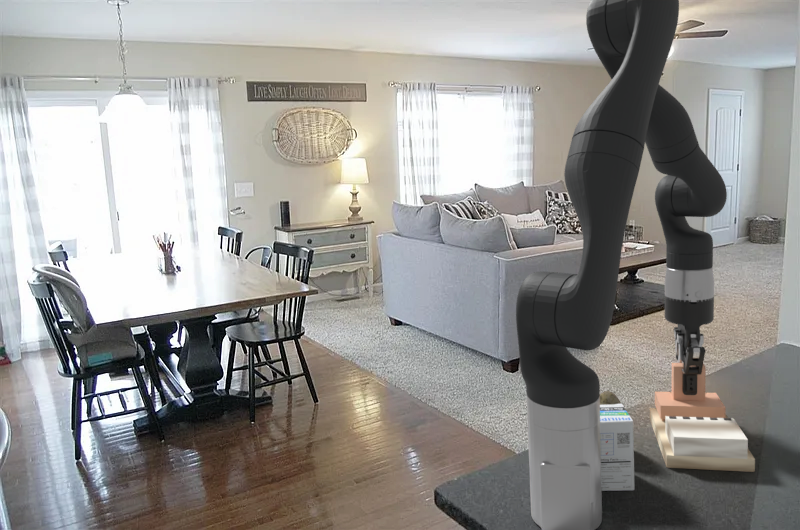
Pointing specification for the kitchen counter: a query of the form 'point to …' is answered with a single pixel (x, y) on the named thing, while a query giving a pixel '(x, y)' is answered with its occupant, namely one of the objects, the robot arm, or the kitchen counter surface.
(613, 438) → the light bulb box
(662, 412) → the stub
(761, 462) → the kitchen counter surface
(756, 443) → the kitchen counter surface
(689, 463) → the pad
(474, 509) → the kitchen counter surface
